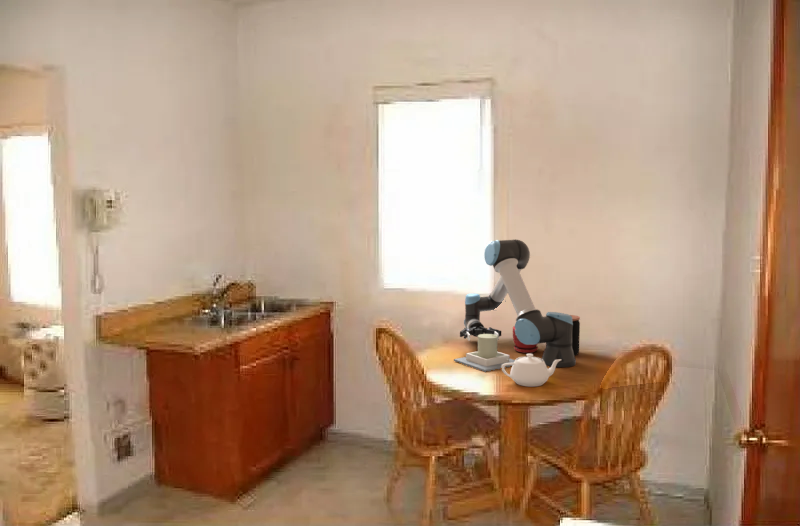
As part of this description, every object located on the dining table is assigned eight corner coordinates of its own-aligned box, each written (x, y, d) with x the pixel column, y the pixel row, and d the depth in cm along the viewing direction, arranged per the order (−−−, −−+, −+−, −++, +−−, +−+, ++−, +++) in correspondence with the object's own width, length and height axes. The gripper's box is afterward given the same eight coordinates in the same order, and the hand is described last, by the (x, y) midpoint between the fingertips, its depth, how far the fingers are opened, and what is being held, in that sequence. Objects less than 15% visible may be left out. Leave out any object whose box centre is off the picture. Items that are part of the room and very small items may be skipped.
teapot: (505, 389, 262) (505, 359, 260) (497, 377, 277) (497, 349, 275) (567, 388, 263) (567, 358, 261) (555, 376, 278) (556, 348, 277)
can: (496, 363, 296) (497, 337, 295) (476, 362, 298) (476, 336, 296) (498, 358, 305) (498, 333, 304) (478, 357, 307) (478, 332, 305)
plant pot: (506, 349, 325) (507, 326, 324) (527, 346, 332) (527, 323, 330) (524, 355, 314) (524, 331, 313) (545, 352, 320) (545, 328, 319)
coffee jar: (583, 355, 314) (584, 318, 312) (563, 356, 311) (564, 319, 309) (571, 350, 324) (572, 314, 322) (552, 351, 321) (552, 315, 319)
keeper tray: (522, 364, 298) (522, 355, 298) (485, 372, 286) (485, 363, 286) (489, 354, 316) (489, 346, 316) (453, 361, 304) (453, 352, 304)
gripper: (500, 334, 332) (509, 344, 311) (451, 335, 331) (457, 345, 310) (500, 320, 331) (509, 328, 310) (451, 321, 330) (457, 330, 309)
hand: (483, 337), depth 310 cm, fingers open, 13 cm apart
